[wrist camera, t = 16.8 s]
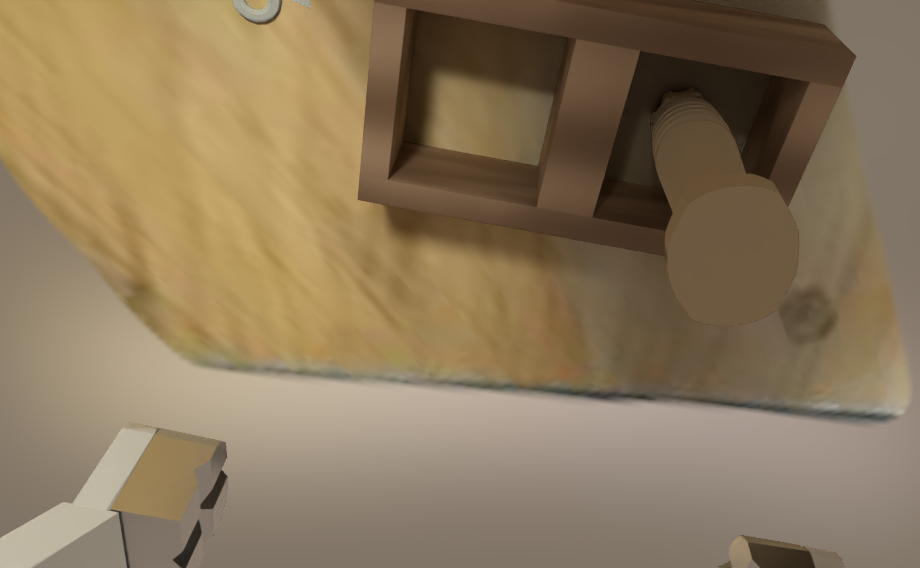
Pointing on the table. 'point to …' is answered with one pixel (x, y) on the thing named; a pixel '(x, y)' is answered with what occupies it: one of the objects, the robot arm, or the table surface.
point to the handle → (719, 218)
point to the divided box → (594, 112)
